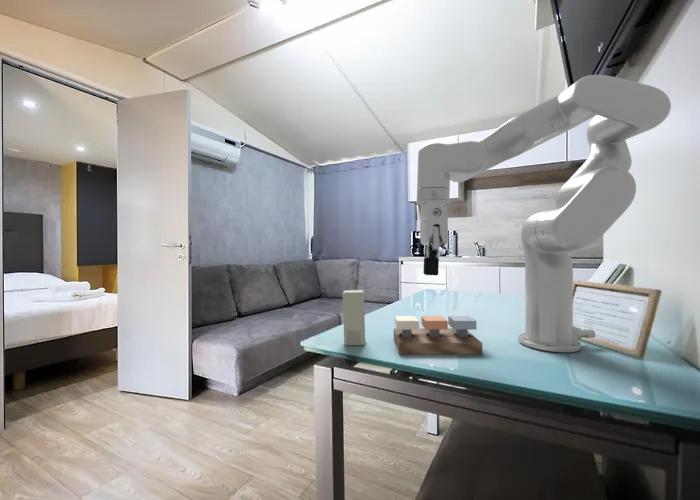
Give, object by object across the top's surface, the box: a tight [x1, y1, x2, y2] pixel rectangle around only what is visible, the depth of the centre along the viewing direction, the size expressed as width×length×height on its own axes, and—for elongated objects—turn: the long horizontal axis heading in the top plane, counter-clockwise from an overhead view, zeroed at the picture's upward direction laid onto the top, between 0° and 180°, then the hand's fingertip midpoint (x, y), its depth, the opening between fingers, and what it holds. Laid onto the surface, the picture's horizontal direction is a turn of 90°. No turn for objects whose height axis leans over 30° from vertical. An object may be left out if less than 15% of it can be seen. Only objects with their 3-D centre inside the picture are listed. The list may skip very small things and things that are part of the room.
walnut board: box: [393, 328, 483, 355], centre depth 75 cm, size 18×12×2 cm, turn 88°
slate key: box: [447, 315, 477, 337], centre depth 74 cm, size 5×5×4 cm
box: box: [342, 289, 366, 346], centre depth 77 cm, size 5×4×13 cm
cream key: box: [394, 315, 420, 337], centre depth 75 cm, size 5×5×4 cm
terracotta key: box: [420, 315, 449, 337], centre depth 75 cm, size 5×5×4 cm
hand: (430, 274), depth 75 cm, fingers closed
